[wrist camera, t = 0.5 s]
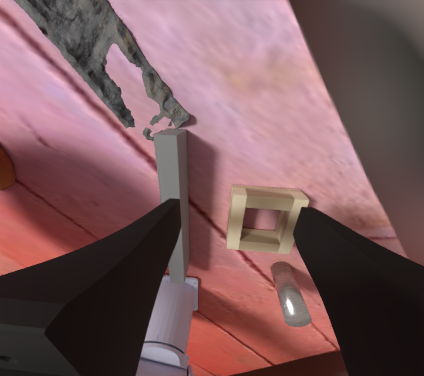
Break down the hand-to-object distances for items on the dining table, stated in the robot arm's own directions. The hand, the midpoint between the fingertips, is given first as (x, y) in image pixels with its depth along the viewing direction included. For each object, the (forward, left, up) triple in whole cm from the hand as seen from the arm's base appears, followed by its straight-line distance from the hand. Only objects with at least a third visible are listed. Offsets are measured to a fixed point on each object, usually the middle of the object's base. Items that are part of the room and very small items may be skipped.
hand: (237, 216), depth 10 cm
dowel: (-16, -9, -10) cm, 21 cm away
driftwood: (+11, +14, -11) cm, 20 cm away
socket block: (-6, -4, -10) cm, 12 cm away
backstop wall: (-6, +6, -10) cm, 13 cm away
